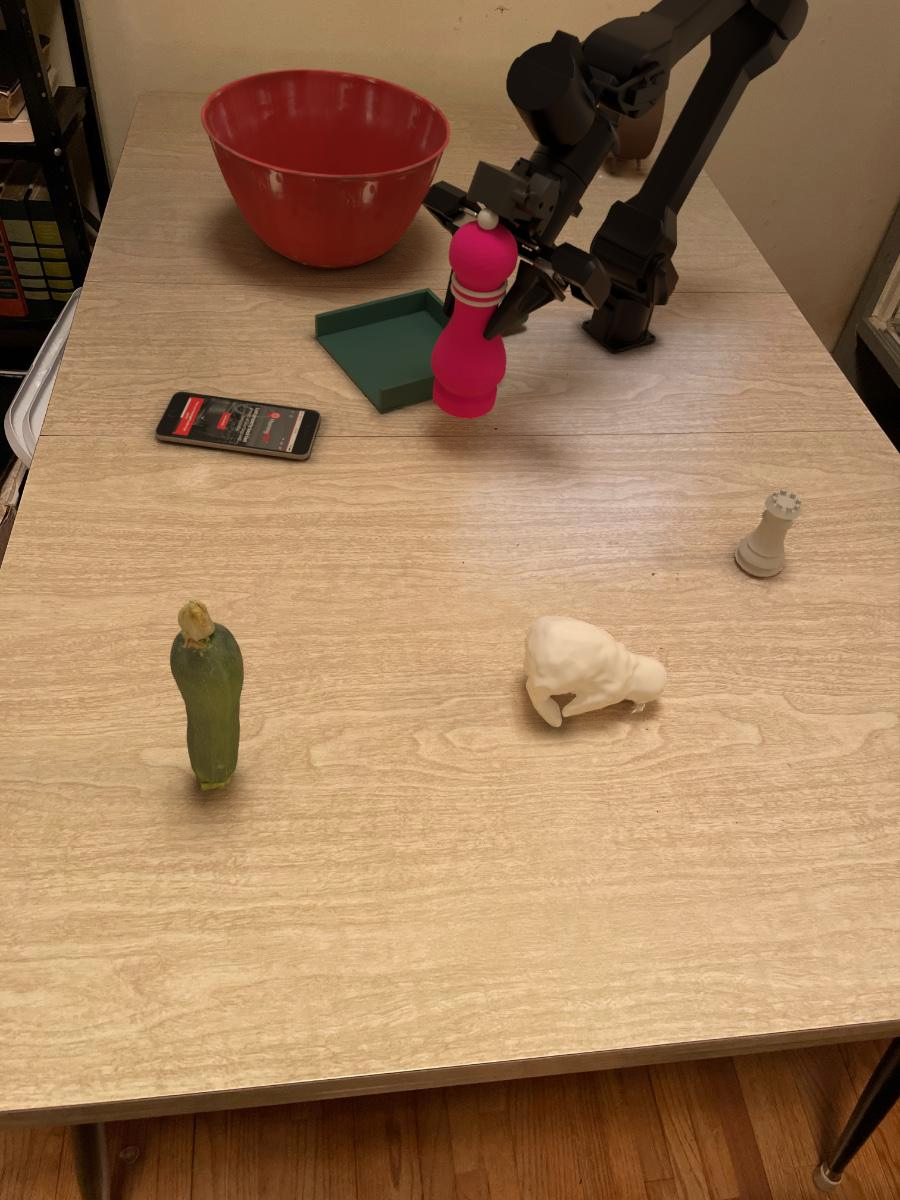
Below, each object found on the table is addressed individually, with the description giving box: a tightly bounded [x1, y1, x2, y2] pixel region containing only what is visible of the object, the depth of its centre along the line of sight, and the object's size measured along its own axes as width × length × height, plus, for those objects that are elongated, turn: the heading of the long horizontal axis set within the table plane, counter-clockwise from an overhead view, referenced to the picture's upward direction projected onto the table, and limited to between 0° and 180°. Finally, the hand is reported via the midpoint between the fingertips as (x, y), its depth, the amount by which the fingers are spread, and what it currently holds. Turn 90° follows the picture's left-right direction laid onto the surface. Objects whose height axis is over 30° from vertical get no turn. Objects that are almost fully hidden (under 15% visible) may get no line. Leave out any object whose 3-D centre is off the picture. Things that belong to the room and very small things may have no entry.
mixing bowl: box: [200, 68, 451, 270], centre depth 116 cm, size 28×28×16 cm
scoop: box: [314, 287, 530, 414], centre depth 107 cm, size 24×15×3 cm, turn 122°
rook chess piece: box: [734, 488, 803, 578], centre depth 87 cm, size 4×4×8 cm
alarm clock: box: [597, 10, 667, 175], centre depth 139 cm, size 15×7×20 cm, turn 6°
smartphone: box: [154, 391, 322, 461], centre depth 95 cm, size 7×1×15 cm
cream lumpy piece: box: [522, 615, 668, 728], centre depth 74 cm, size 6×8×12 cm
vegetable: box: [169, 598, 245, 791], centre depth 62 cm, size 4×4×20 cm
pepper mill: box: [431, 207, 519, 420], centre depth 88 cm, size 7×7×20 cm
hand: (465, 326), depth 88 cm, fingers closed on pepper mill, 4 cm apart
